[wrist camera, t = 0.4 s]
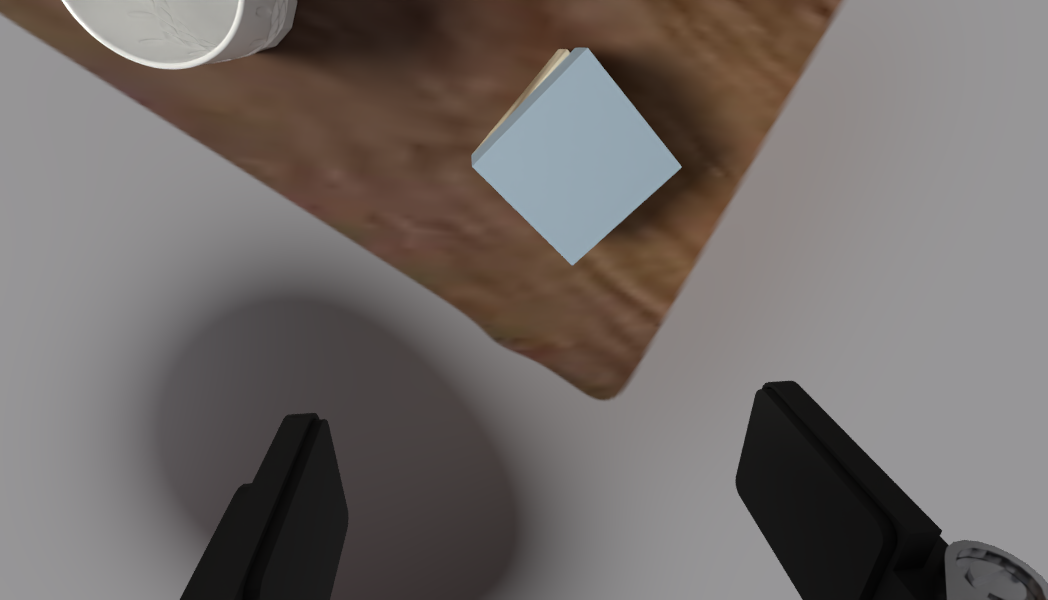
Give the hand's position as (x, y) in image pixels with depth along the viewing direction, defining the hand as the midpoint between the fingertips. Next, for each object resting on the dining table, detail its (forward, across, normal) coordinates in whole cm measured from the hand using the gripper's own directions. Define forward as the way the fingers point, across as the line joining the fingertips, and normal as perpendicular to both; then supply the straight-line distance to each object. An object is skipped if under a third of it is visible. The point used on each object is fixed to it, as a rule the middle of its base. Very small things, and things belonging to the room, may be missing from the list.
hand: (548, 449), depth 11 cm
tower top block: (+25, -5, -2) cm, 26 cm away
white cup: (+29, +15, -11) cm, 34 cm away
